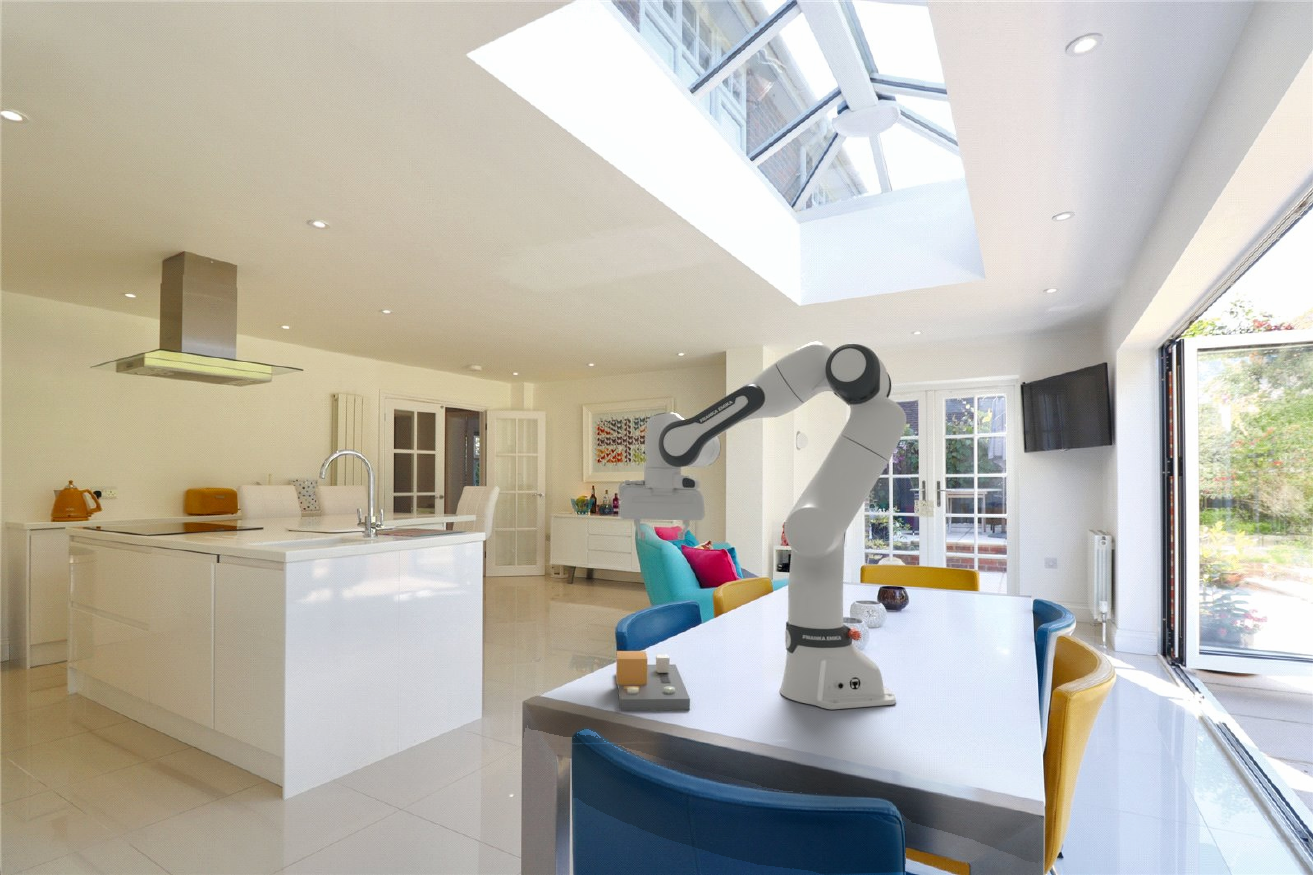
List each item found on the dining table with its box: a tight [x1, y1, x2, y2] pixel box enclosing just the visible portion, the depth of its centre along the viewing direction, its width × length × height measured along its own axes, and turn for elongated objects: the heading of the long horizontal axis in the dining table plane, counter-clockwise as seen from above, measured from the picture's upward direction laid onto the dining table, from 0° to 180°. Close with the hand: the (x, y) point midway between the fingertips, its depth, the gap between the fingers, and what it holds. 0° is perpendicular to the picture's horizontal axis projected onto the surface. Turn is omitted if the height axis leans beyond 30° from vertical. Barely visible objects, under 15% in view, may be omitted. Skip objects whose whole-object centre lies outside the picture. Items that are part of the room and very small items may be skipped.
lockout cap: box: [615, 650, 648, 686], centre depth 133 cm, size 6×6×5 cm
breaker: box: [655, 653, 670, 673], centre depth 139 cm, size 3×3×3 cm
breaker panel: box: [617, 663, 691, 711], centre depth 133 cm, size 13×24×3 cm, turn 5°
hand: (661, 539), depth 154 cm, fingers open, 8 cm apart
